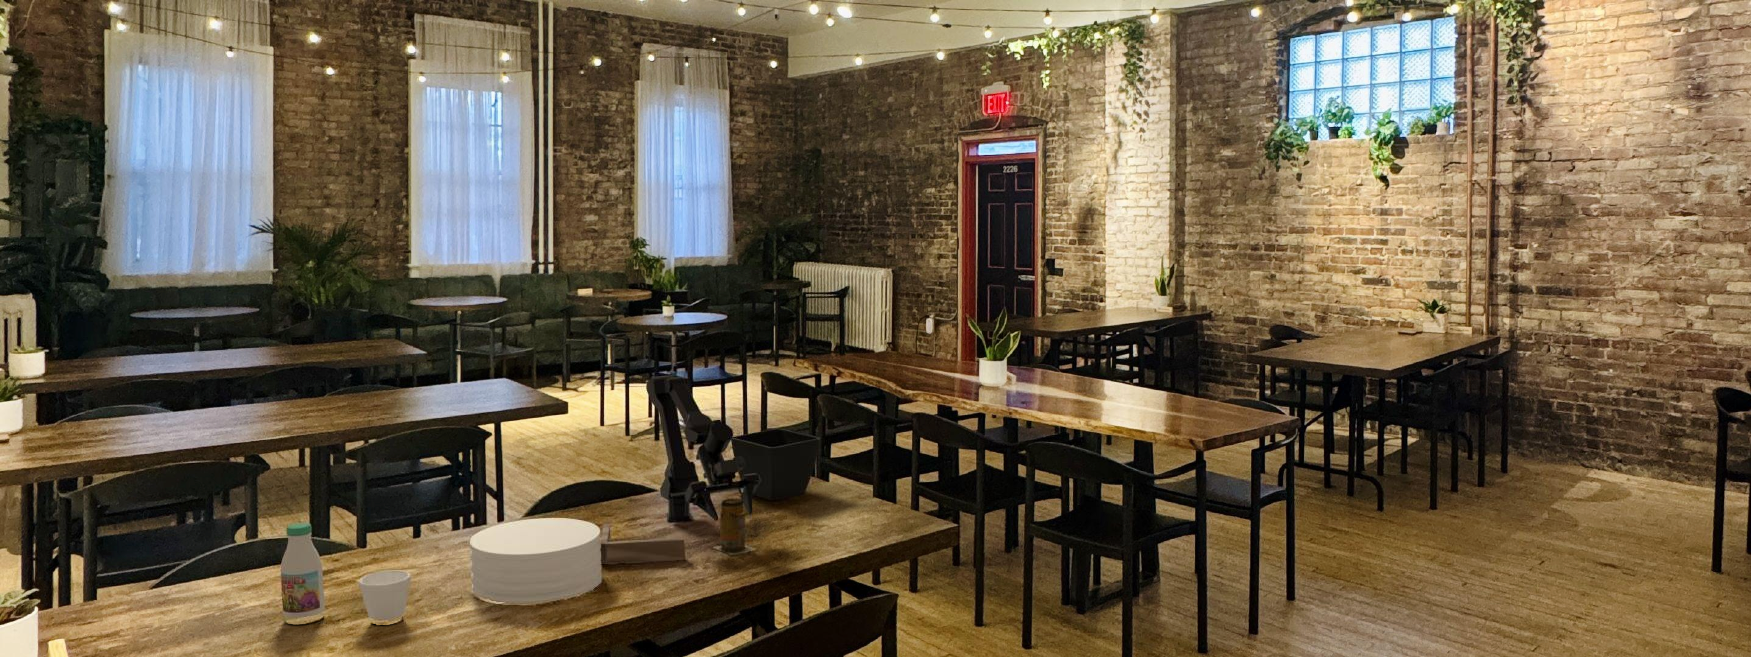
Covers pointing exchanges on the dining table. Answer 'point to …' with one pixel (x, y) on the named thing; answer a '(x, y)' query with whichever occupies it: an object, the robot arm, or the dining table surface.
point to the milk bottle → (301, 574)
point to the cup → (385, 593)
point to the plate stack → (536, 560)
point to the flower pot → (777, 461)
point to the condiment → (733, 528)
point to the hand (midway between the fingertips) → (734, 516)
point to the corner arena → (639, 549)
